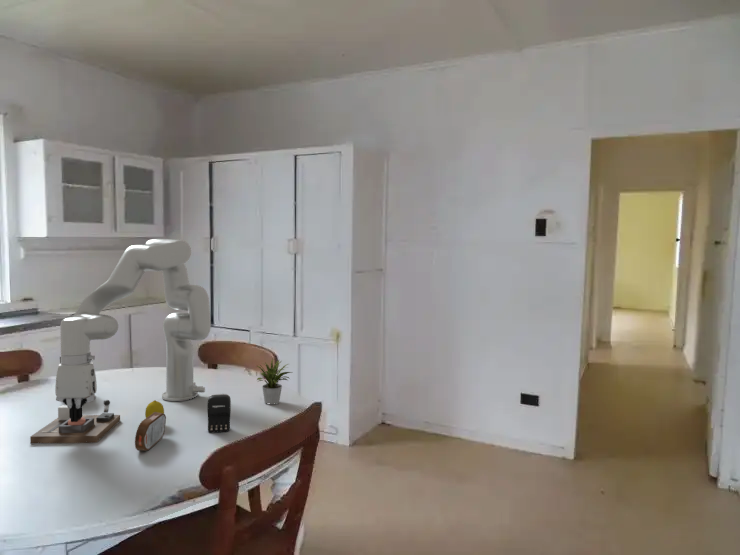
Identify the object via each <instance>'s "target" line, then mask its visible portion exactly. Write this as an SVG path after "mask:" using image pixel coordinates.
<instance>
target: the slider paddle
mask: <svg viewBox="0 0 740 555" xmlns="http://www.w3.org/2000/svg"><path fill="white" fill-rule="evenodd" d="M57 415H58V416H57V418H58V420H68V419H70V417H69V408H68V407H67V405H66V404H62V405H60V406H58V407H57Z"/></svg>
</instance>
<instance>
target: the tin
mask: <svg viewBox="0 0 740 555" xmlns="http://www.w3.org/2000/svg"><path fill="white" fill-rule="evenodd" d="M166 421H167V416H166V414H165V412H164V413H157V412H154V413H153V414H151V415H150V416H149V417H147V418H146V417H145V418H144V419H143V420H141V422H140V423H139V424H138V426H137V430H136V432H135V437H134V446H135V449H136V450H137V451H143V452H146V451H147V452H148V451H149V450H151V448H153V447H155V445H157V444H158V443H159V442H160V441H161V439H163V436H164V435H165V431H166Z"/></svg>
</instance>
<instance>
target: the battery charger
mask: <svg viewBox="0 0 740 555" xmlns="http://www.w3.org/2000/svg"><path fill="white" fill-rule="evenodd" d="M206 404H207V406H206V408H207V411H206V412H207V432H208V433H212V432H214V433H226V431H227V432H229V431H230V430H231V412H232V410H231V409H232V400H231V396H230V395H229V394H228V393H216V394H215V393H213V394H211V395H209V396H208V398H207V403H206Z"/></svg>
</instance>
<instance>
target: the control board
mask: <svg viewBox="0 0 740 555" xmlns="http://www.w3.org/2000/svg"><path fill="white" fill-rule="evenodd" d="M82 418H85V419H86V423H84V424H83V425H68V420H70V419H71V418H70V419H68V420H58V417H56V418H55V419H54V420H52V421H51V422H49V423H48V424H46V425H44V426H43V427H42V428H41V429H39V430H38V431H36V432H35V433H33V434H32V435H31V436H29V437H30V438H29V439H30V444H82V443H83V444H93V443H95V444H97V443H98V442H99V441H100V440H102V438H103V437H105V436H106V435H107V434H108V433H109V432H110V431H111V430H112V429H113V428H114V427H116V426H117V425H118V424H119V423H120V421H121V414H115V413H114V412H108V413H104V412H102V413H100V414H94V415H93V414H82Z"/></svg>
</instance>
